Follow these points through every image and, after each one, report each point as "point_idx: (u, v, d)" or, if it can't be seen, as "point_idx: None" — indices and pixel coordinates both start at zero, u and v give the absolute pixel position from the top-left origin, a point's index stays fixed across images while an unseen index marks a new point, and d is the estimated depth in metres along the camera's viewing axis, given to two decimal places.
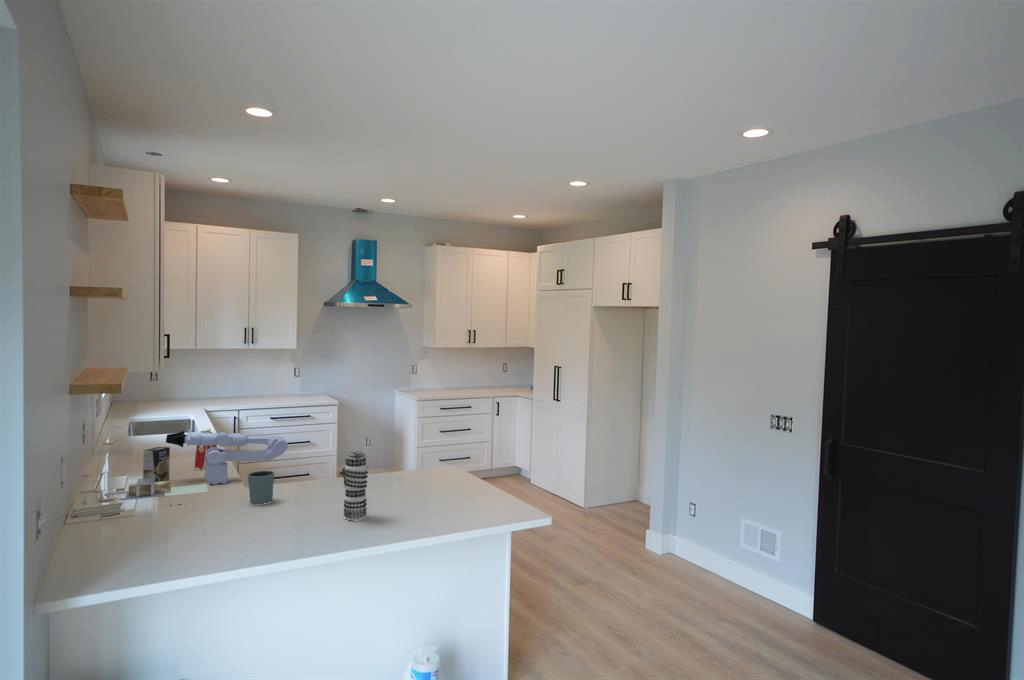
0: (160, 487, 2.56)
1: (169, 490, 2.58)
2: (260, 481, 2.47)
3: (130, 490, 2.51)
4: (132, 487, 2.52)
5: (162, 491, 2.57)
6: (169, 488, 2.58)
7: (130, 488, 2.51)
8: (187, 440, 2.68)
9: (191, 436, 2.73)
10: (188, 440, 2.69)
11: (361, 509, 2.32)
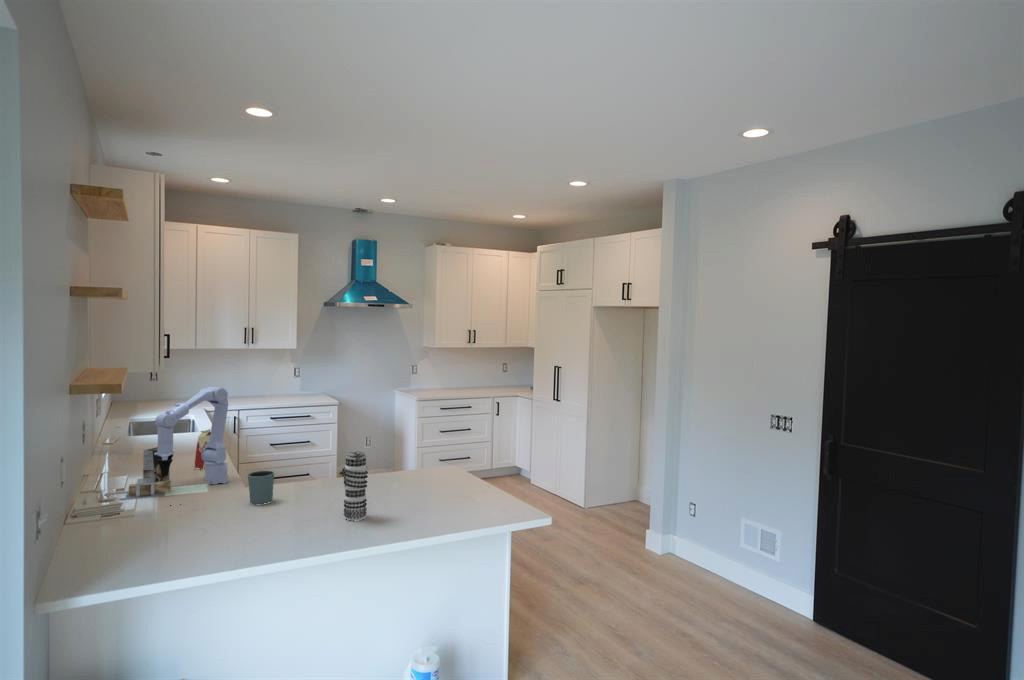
0: (160, 487, 2.56)
1: (169, 490, 2.58)
2: (260, 481, 2.47)
3: (130, 490, 2.51)
4: (132, 487, 2.52)
5: (162, 491, 2.57)
6: (169, 488, 2.58)
7: (130, 488, 2.51)
8: (163, 457, 2.52)
9: (161, 452, 2.56)
10: (163, 457, 2.52)
11: (361, 509, 2.32)
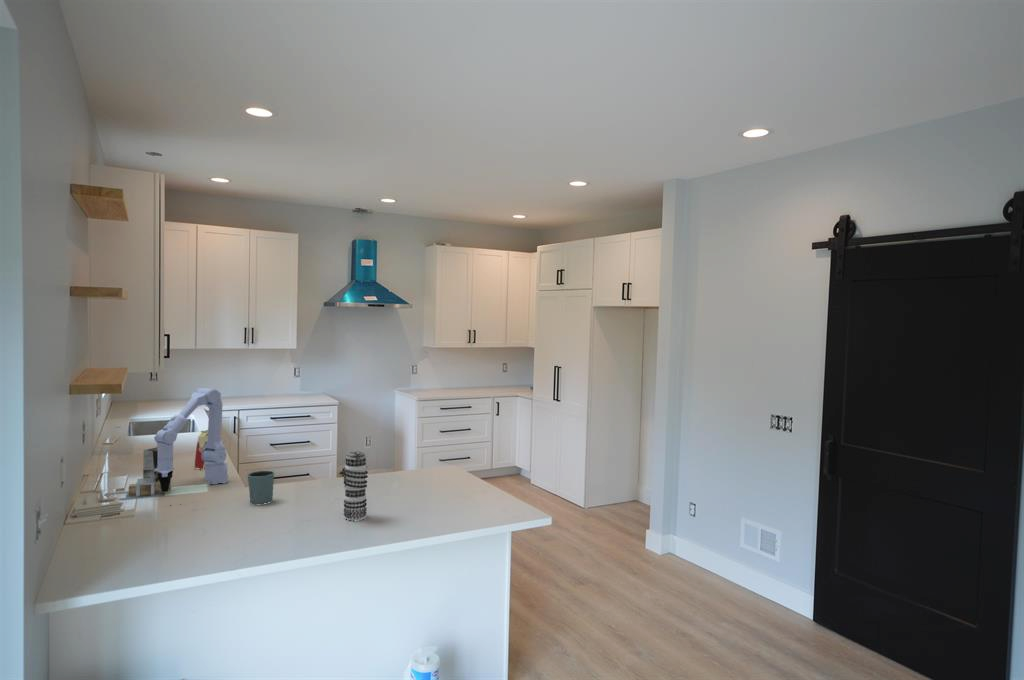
0: (160, 487, 2.56)
1: (169, 490, 2.58)
2: (260, 481, 2.47)
3: (130, 490, 2.51)
4: (132, 487, 2.52)
5: None
6: (169, 488, 2.58)
7: (130, 488, 2.51)
8: (163, 474, 2.52)
9: (161, 468, 2.56)
10: (163, 473, 2.52)
11: (361, 509, 2.32)
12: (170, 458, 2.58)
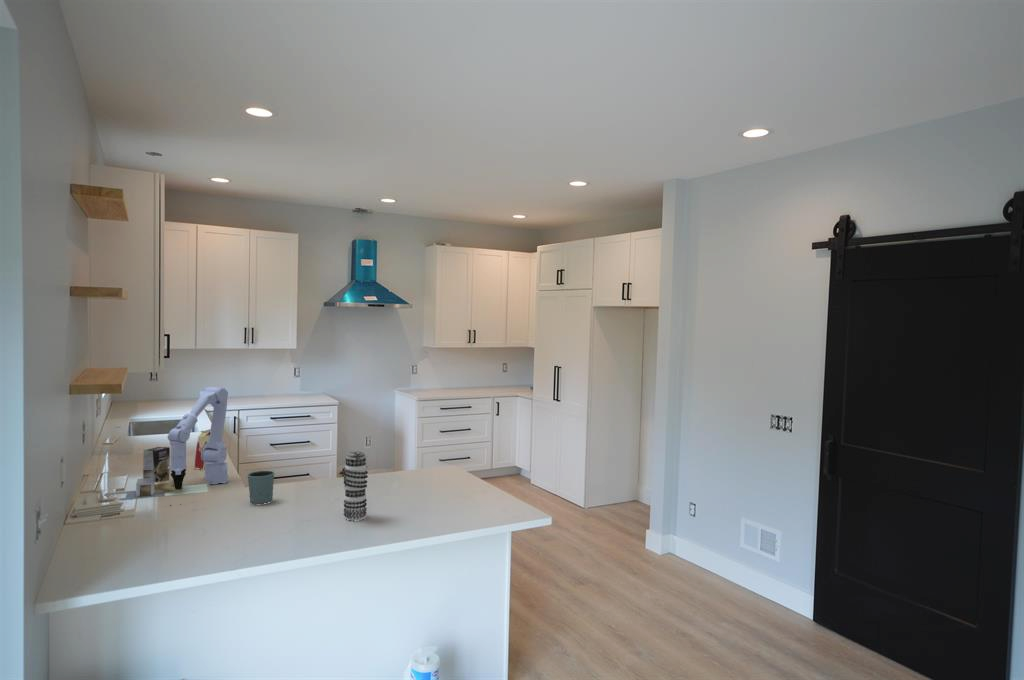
0: (172, 486, 2.58)
1: (181, 489, 2.60)
2: (260, 481, 2.47)
3: (142, 489, 2.53)
4: (144, 486, 2.54)
5: (174, 490, 2.59)
6: None
7: (142, 487, 2.53)
8: (176, 472, 2.54)
9: (174, 466, 2.58)
10: (176, 471, 2.54)
11: (361, 509, 2.32)
12: (183, 456, 2.60)
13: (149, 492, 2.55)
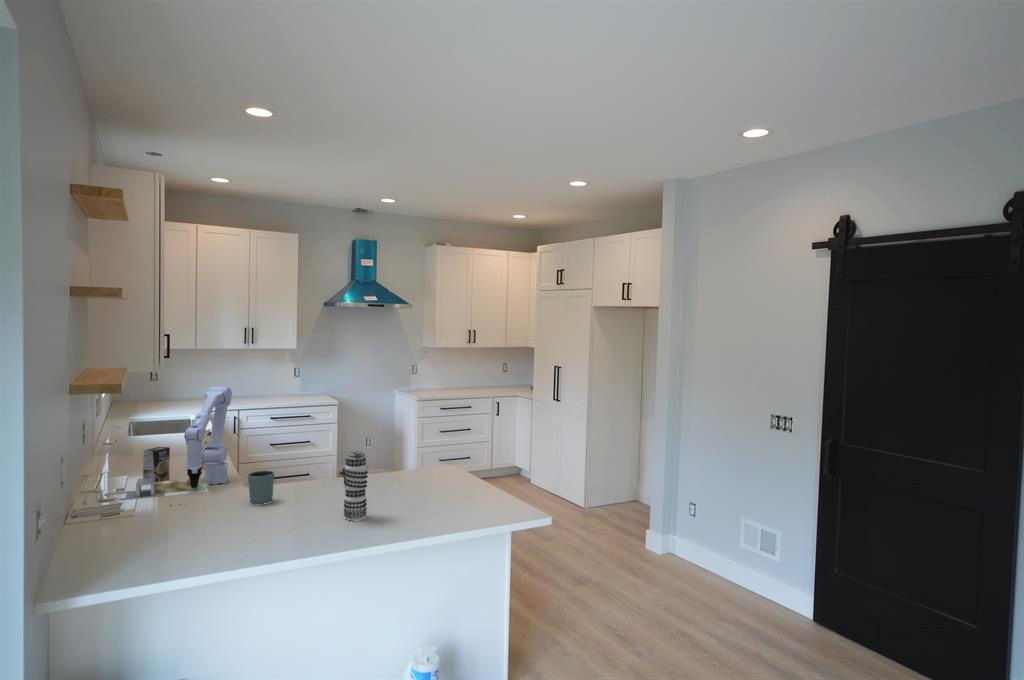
0: (185, 484, 2.61)
1: (193, 488, 2.62)
2: (260, 481, 2.47)
3: (156, 488, 2.56)
4: (158, 485, 2.56)
5: (187, 489, 2.61)
6: None
7: (156, 486, 2.56)
8: (193, 471, 2.57)
9: (190, 465, 2.61)
10: (193, 470, 2.57)
11: (361, 509, 2.32)
12: (199, 455, 2.63)
13: (162, 491, 2.57)
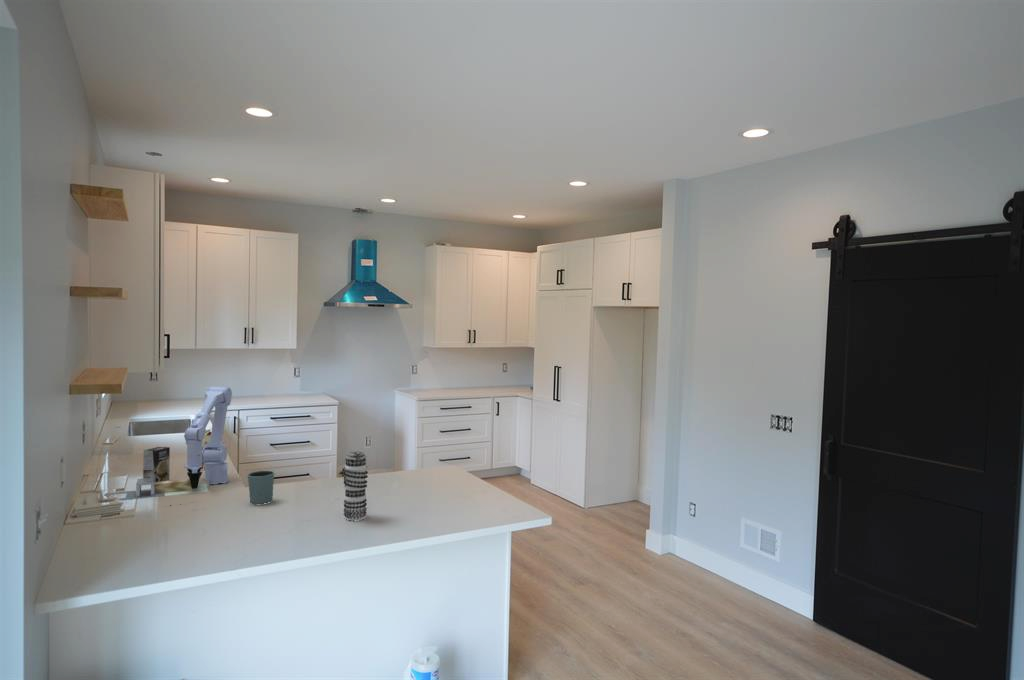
0: (185, 484, 2.61)
1: None
2: (260, 481, 2.47)
3: (156, 488, 2.56)
4: (158, 485, 2.56)
5: (187, 489, 2.61)
6: None
7: (156, 486, 2.56)
8: (193, 471, 2.57)
9: (190, 465, 2.61)
10: (193, 470, 2.57)
11: (361, 509, 2.32)
12: (199, 455, 2.63)
13: (162, 491, 2.57)
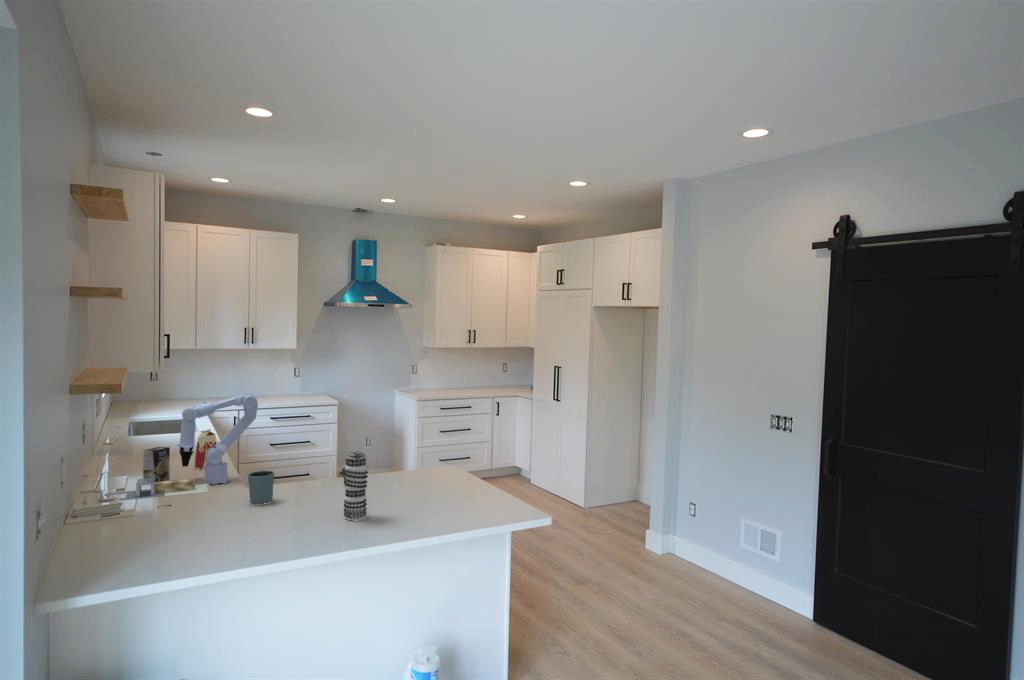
0: (185, 484, 2.61)
1: (193, 488, 2.62)
2: (260, 481, 2.47)
3: (156, 488, 2.56)
4: (158, 485, 2.56)
5: (187, 489, 2.61)
6: (193, 486, 2.62)
7: (156, 486, 2.56)
8: (185, 449, 2.68)
9: (183, 443, 2.72)
10: (185, 448, 2.68)
11: (361, 509, 2.32)
12: (192, 434, 2.74)
13: (162, 491, 2.57)
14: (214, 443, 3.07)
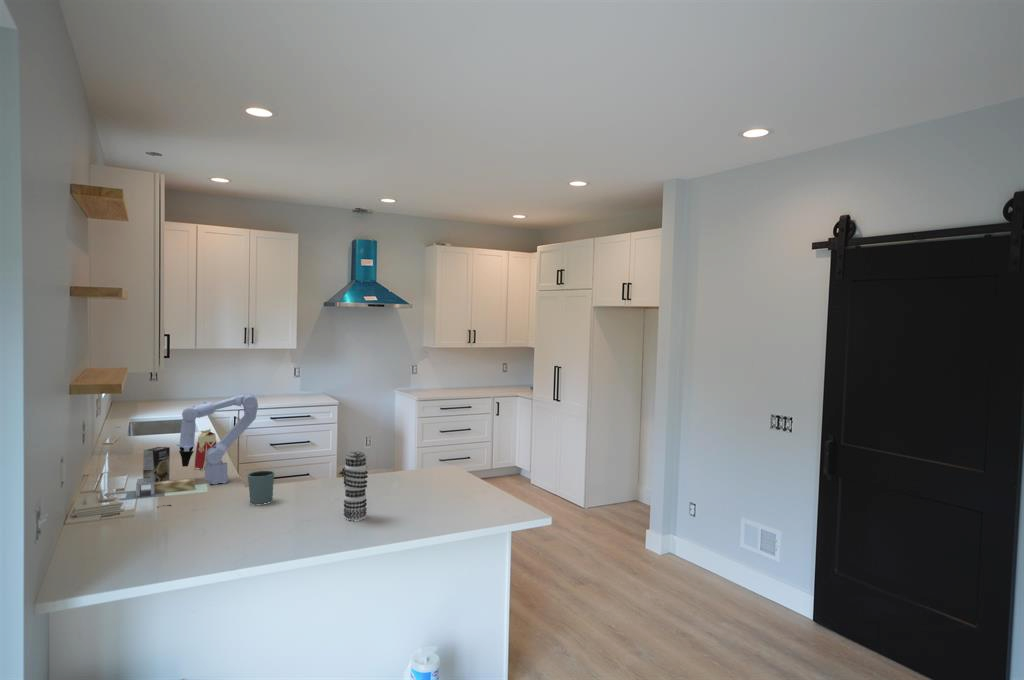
0: (185, 484, 2.61)
1: (193, 488, 2.62)
2: (260, 481, 2.47)
3: (156, 488, 2.56)
4: (158, 485, 2.56)
5: (187, 489, 2.61)
6: (193, 486, 2.62)
7: (156, 486, 2.56)
8: (185, 449, 2.68)
9: (183, 443, 2.72)
10: (185, 448, 2.68)
11: (361, 509, 2.32)
12: (192, 434, 2.74)
13: (162, 491, 2.57)
14: (214, 443, 3.07)
